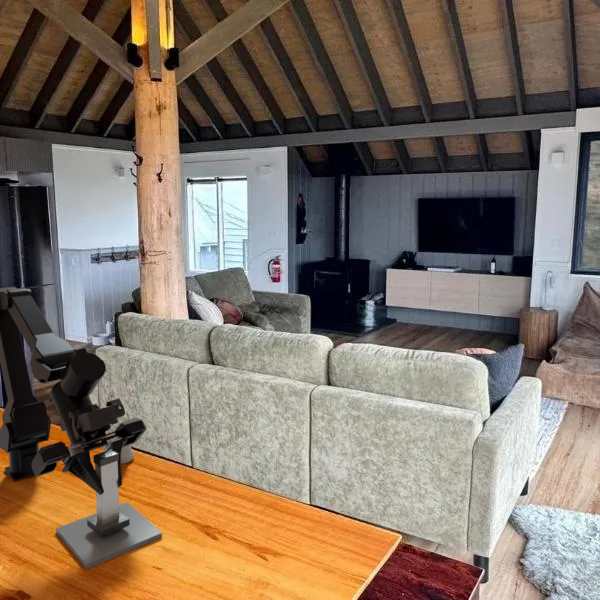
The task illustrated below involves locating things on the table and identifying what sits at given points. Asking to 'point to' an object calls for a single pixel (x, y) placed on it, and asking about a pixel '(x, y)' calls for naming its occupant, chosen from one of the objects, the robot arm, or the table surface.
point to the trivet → (107, 537)
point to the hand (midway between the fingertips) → (111, 490)
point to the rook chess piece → (126, 453)
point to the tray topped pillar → (107, 496)
